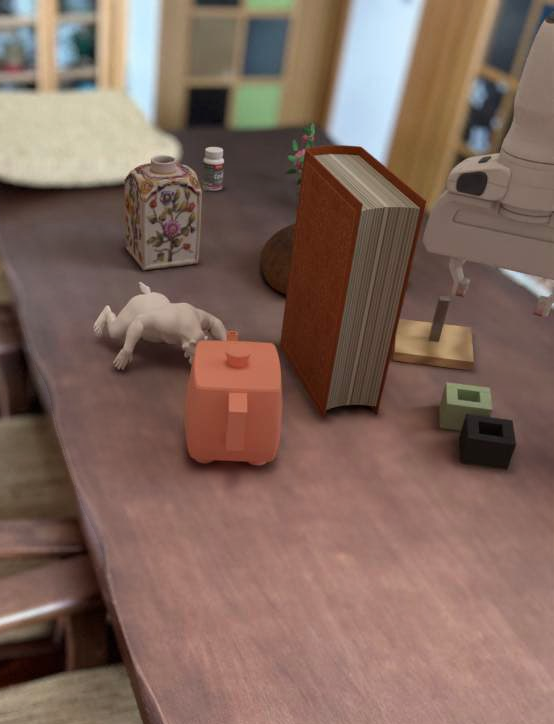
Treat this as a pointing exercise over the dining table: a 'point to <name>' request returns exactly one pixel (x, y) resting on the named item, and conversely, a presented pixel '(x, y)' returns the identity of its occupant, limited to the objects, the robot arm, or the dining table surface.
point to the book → (348, 274)
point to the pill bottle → (213, 168)
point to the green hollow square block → (463, 404)
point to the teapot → (234, 401)
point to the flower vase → (299, 156)
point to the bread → (279, 258)
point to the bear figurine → (158, 324)
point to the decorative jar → (163, 214)
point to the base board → (434, 341)
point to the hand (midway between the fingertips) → (498, 304)
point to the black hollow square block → (487, 441)
